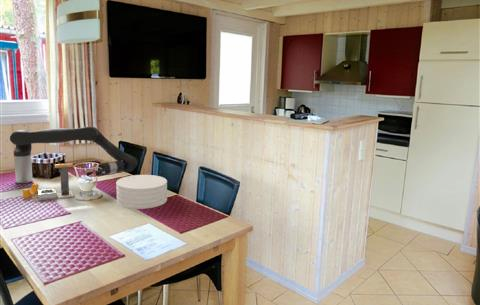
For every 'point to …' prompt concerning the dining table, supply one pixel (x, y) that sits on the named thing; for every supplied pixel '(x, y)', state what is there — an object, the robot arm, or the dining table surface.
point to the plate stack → (141, 191)
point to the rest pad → (65, 195)
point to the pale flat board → (36, 199)
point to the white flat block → (47, 194)
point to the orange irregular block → (30, 191)
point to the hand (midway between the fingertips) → (82, 172)
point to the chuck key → (64, 177)
